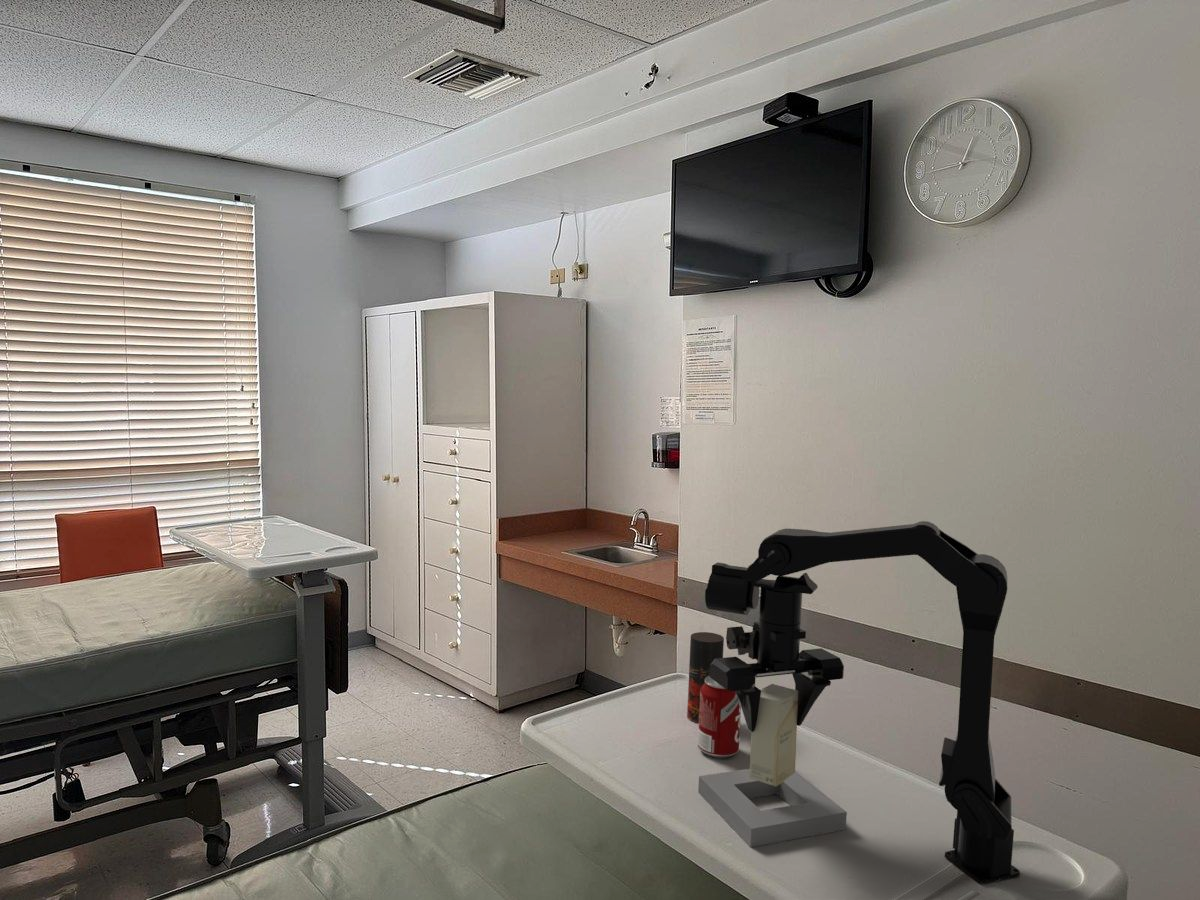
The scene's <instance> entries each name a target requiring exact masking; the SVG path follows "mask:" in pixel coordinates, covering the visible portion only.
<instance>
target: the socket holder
mask: <svg viewBox="0 0 1200 900" xmlns="http://www.w3.org/2000/svg"><path fill="white" fill-rule="evenodd" d="M697 789H698V790H697V791H698V792H697V793H698V794H699V795H700V796H701V797H702V798H703V799H704V801H706V802H707V803H708V804H709V805H710V807H711V808H712V809H713V810H714V811H715V812H716V813H717V814H718V815H719V816H720V817H721V818H722V819H723V820H724V822H726V823H727V824H728V826H730V828H731V829H732V830H734V831H735V832H736V834H737V835H738V836H739V837H740V838H741V839H742V840H743V841H744V842H745V843H746V844H747V845H748V846H749V847H750V848H752V847H757V846H762V845H764V846H765V845H768V844H775V843H779V842H785V841H792V840H796V839H800V838H807V837H813V836H818V835H823V834H828V833H834V832H835V833H836V832H840V831H845V830H847V829H846V828H847V815H848V814H847V813H848V812H847V811H846V810H845V809H844V808H843V807H841V806H840V805H839V804H837V802H835V801H834V800H832V799H831V798H830V797H829V796H827V795H826V794H825V793H824V792H823V791H821V790H820V789H819V788H817V787H816V786H815V785H814V784H813V783H811V782H810V780H807V779H806V778H805V777H804V776H802V775H801V774H800V773H799V772H798V771H796V770H795V773H794V774H792V775H791V776H790V777H789V778H787V779H786V780H785V781H783V782H782V783H781V784H779V785H778V786H773V785H769V784H766V783H763V782H760V781H758V780H755V779H752V778H750V768H745V769H738V770H732V771H725V772H717V773H711V774H704V775H699V776H698V788H697ZM773 795H778V796H779V797H781V798H782V799H783V801H785V802H787V804H788V805H787V806H786V805H785V806H780V807H775V808H769V809H762V810H761V809H760V808H759V807H758V806H757V805H756V804H755V803H754V802H752V800H750V799H752V798H759V797H765V796H766V797H767V796H773Z"/></svg>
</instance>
